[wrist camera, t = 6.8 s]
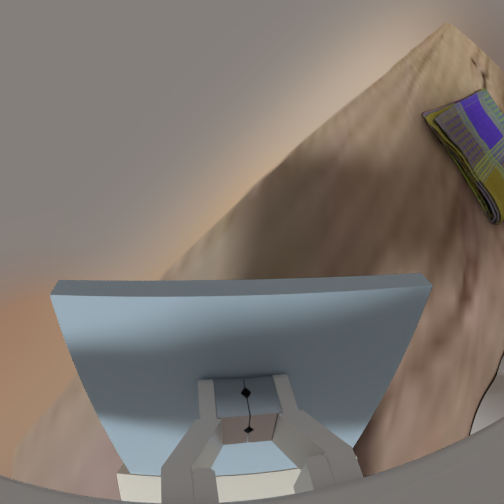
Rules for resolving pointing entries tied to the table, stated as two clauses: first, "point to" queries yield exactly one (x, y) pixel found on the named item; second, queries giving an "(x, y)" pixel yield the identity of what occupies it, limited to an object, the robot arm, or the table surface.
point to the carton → (227, 485)
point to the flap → (234, 353)
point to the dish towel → (475, 146)
